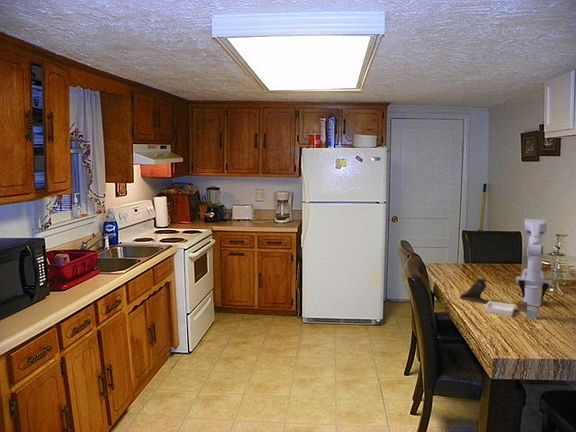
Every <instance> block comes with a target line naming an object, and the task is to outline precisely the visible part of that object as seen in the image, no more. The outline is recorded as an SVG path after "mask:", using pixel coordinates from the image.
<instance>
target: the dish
mask: <svg viewBox="0 0 576 432" xmlns="http://www.w3.org/2000/svg"><path fill="white" fill-rule="evenodd" d="M515 310H516V304H513V303H505V302H500V301H499V302H498V301H492V300H488V302H487V303H486V305H485V307H484V313H487V314H493V315H500V316H506V317H513V315H514V313H515Z"/></svg>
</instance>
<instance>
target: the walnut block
mask: <svg viewBox="0 0 576 432" xmlns="http://www.w3.org/2000/svg"><path fill="white" fill-rule="evenodd" d="M516 305H517V307H516V311H518V312H522V313H523V312H524V313H527V309H528V305H527V302H523V300H518V301H517V304H516Z"/></svg>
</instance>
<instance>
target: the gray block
mask: <svg viewBox="0 0 576 432" xmlns="http://www.w3.org/2000/svg"><path fill="white" fill-rule="evenodd" d="M526 318H527V319H533V320H537V319H538V308H536V307H529V306H527V311H526Z"/></svg>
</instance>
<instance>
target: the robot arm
mask: <svg viewBox="0 0 576 432" xmlns="http://www.w3.org/2000/svg"><path fill="white" fill-rule="evenodd" d="M547 225H548V221H547V220H546V219H535V218H534V219H532V218H531V219H530V218H525V220H524V233H525V235H526V236H528V245H527V251H526V254H527V268H525V269H523V270H522V274H521V275H522V276H516V277H515V280H516V282H518V285H519V288H520V291H521V293H522V294H521V295H522V298H523V300H522V301H523V302H527V306H534V307H540V306H541V303H542V301H544V296H545V294H546V292H547V290H548V288H549V287H550V286H553V285H552V284H553V281H552V280H550V279H545V275H544V271H543V270H542V265H543V257H544V251H545V250H544V249H545V247H544V243H543V237H545V236H546V234H547V229H548V226H547ZM541 300H542V301H541Z"/></svg>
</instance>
